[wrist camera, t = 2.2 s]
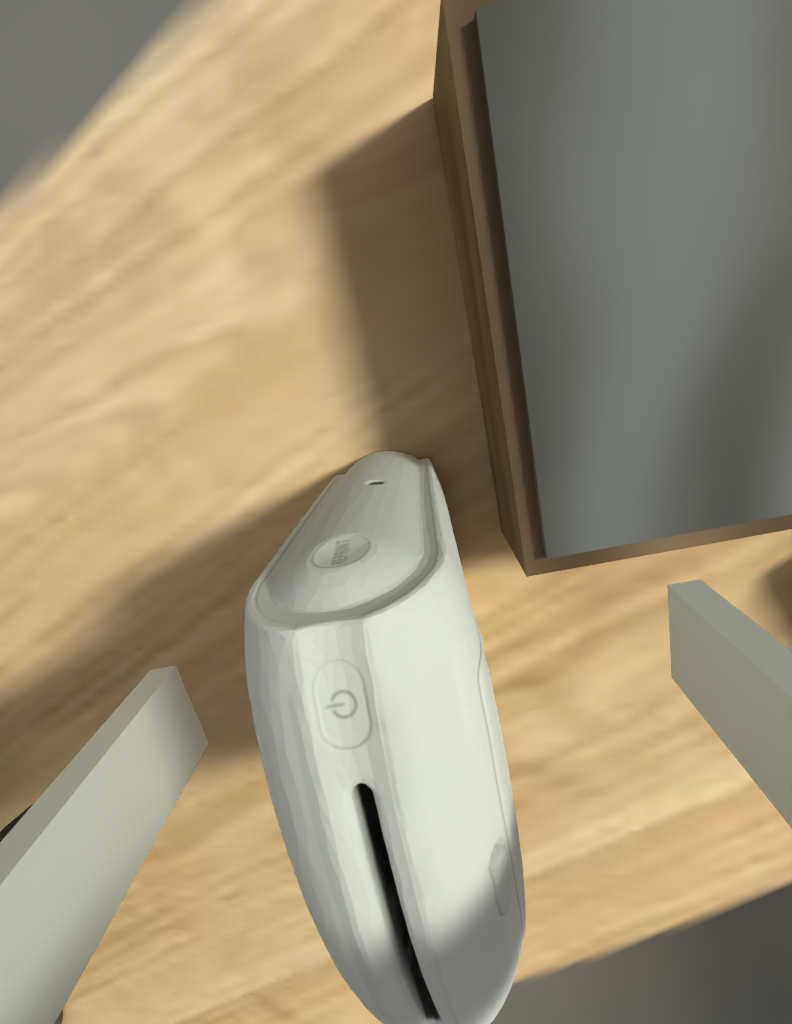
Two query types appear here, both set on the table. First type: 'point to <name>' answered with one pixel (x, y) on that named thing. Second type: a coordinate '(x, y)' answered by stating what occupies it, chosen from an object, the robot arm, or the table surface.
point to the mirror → (625, 265)
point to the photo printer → (388, 748)
